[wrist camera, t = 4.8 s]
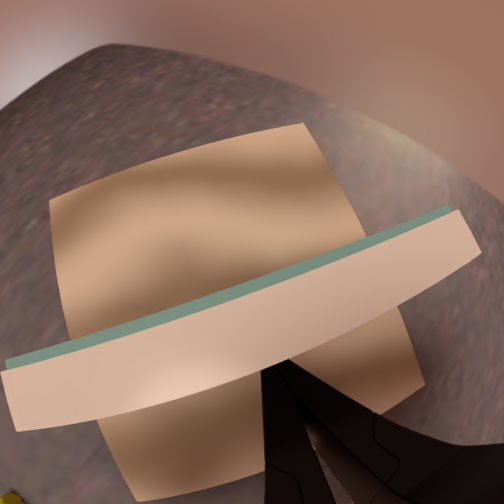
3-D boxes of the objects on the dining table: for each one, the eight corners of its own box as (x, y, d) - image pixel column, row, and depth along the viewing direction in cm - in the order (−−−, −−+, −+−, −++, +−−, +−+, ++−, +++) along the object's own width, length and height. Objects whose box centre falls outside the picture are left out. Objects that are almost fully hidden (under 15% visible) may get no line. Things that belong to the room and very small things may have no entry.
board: (418, 384, 15) (425, 384, 15) (140, 496, 12) (137, 502, 11) (300, 130, 20) (303, 122, 20) (54, 206, 17) (49, 200, 16)
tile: (370, 314, 16) (481, 252, 7) (125, 406, 13) (16, 431, 5) (356, 283, 16) (453, 201, 8) (113, 372, 14) (-2, 360, 5)
